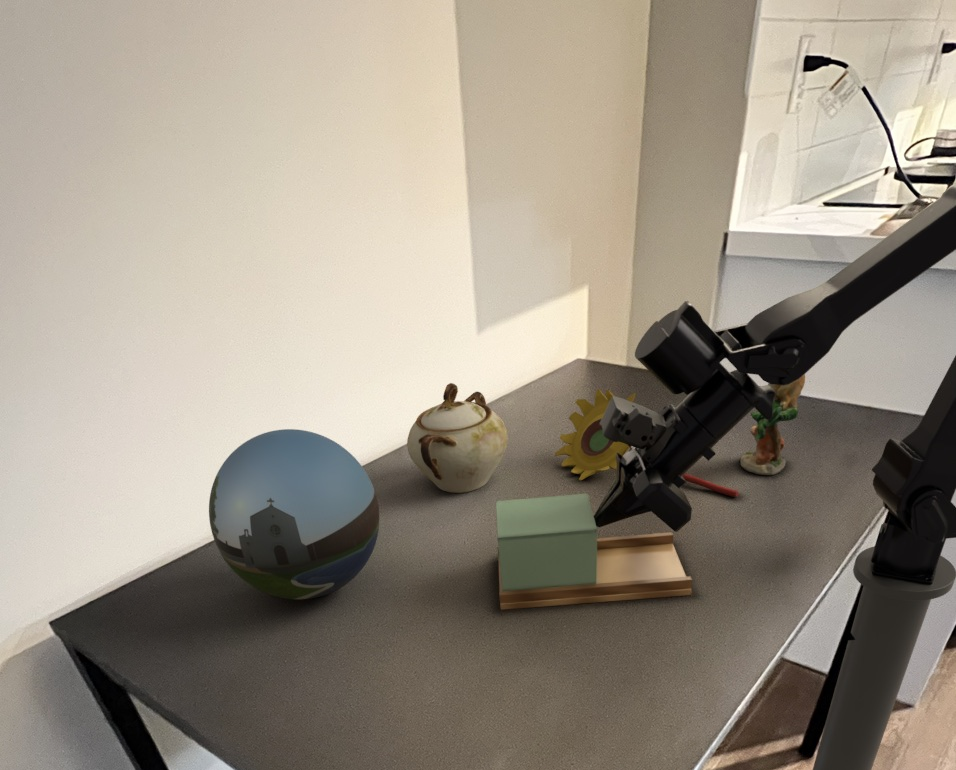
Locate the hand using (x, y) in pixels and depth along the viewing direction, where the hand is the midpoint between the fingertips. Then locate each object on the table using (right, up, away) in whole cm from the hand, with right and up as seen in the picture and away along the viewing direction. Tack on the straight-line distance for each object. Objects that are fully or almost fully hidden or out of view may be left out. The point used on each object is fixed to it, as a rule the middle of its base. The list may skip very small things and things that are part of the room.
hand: (595, 523), depth 86 cm
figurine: (+28, +12, +22) cm, 38 cm away
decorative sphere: (-34, -7, +9) cm, 36 cm away
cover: (-5, -5, +4) cm, 9 cm away
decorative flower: (+10, +12, +24) cm, 29 cm away
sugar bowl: (-16, +12, +29) cm, 35 cm away
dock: (0, -6, +5) cm, 7 cm away
